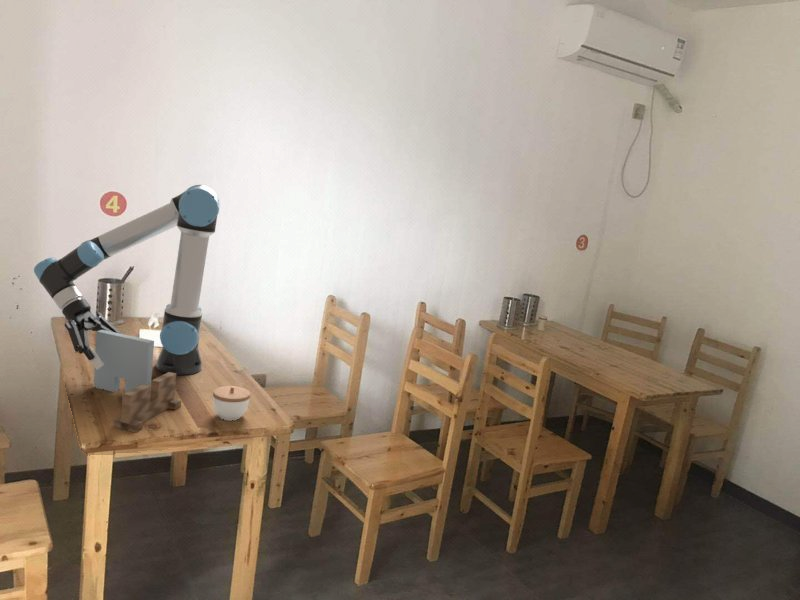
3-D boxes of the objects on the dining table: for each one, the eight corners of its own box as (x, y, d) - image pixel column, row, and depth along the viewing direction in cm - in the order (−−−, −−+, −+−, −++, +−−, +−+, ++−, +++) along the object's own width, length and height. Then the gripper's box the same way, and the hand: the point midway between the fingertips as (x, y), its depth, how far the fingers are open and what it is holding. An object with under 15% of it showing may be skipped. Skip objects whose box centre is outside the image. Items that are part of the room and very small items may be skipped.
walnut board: (160, 401, 198) (162, 370, 196) (180, 406, 196) (183, 375, 194) (113, 426, 176) (115, 392, 174) (135, 432, 175) (138, 397, 173)
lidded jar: (233, 407, 201) (236, 378, 200) (255, 419, 195) (258, 389, 193) (203, 414, 193) (206, 384, 191) (225, 426, 187) (228, 396, 185)
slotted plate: (93, 387, 201) (96, 331, 198) (99, 384, 203) (102, 329, 200) (145, 399, 198) (149, 342, 194) (150, 397, 200) (154, 340, 196)
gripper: (91, 304, 212) (130, 359, 212) (35, 318, 189) (78, 379, 189) (106, 291, 210) (145, 346, 210) (51, 304, 187) (95, 365, 187)
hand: (114, 362), depth 199 cm, fingers open, 11 cm apart
